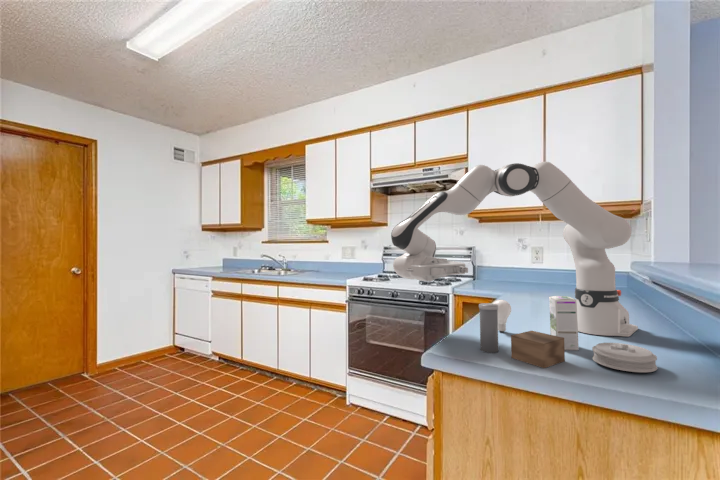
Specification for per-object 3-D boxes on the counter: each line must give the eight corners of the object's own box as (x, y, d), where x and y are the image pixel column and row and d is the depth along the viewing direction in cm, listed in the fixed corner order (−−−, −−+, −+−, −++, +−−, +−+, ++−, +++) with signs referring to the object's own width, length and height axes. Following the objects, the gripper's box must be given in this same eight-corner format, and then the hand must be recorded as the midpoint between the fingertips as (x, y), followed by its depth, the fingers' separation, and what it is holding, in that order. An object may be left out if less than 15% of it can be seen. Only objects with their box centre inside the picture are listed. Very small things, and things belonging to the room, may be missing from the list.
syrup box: (579, 350, 96) (578, 299, 97) (556, 349, 98) (555, 298, 98) (571, 344, 102) (570, 295, 102) (549, 344, 103) (548, 295, 103)
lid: (580, 360, 89) (580, 341, 89) (619, 356, 92) (618, 337, 92) (628, 379, 77) (628, 356, 77) (671, 373, 80) (671, 351, 80)
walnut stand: (531, 351, 96) (531, 330, 96) (564, 361, 88) (564, 337, 88) (511, 357, 92) (511, 335, 92) (544, 368, 84) (543, 343, 84)
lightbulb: (506, 335, 113) (505, 302, 113) (488, 331, 118) (487, 299, 118) (515, 331, 118) (514, 299, 118) (497, 328, 122) (496, 297, 122)
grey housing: (487, 346, 102) (487, 302, 102) (503, 351, 97) (502, 305, 97) (475, 349, 99) (474, 304, 99) (490, 354, 95) (489, 307, 95)
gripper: (402, 260, 116) (431, 262, 104) (447, 258, 126) (477, 259, 114) (403, 279, 115) (431, 283, 104) (447, 275, 126) (477, 278, 114)
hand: (456, 271), depth 109 cm, fingers open, 8 cm apart
